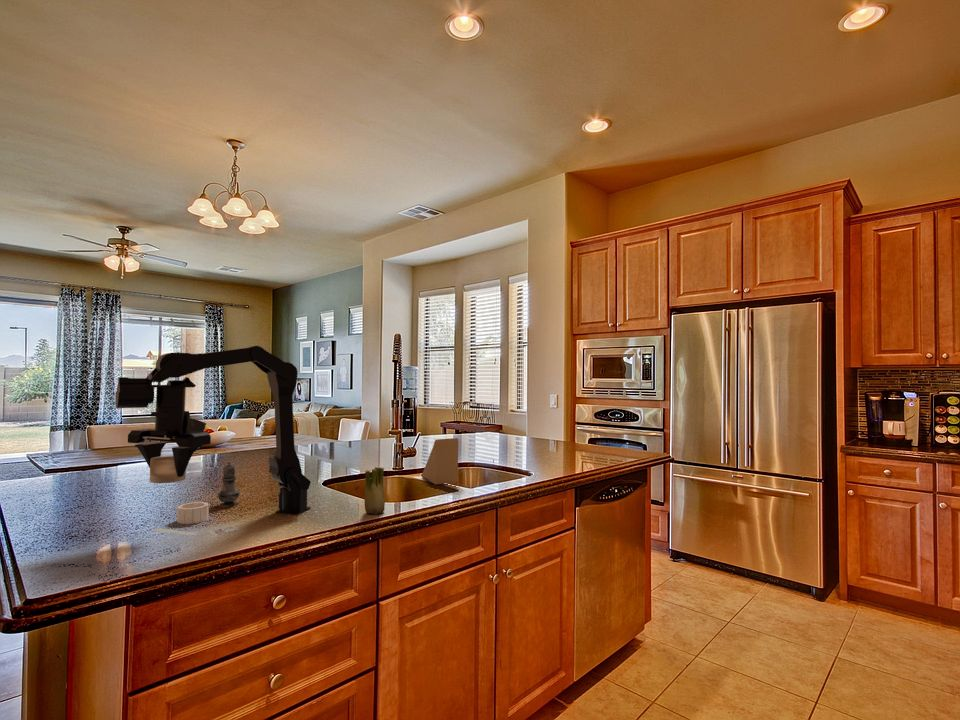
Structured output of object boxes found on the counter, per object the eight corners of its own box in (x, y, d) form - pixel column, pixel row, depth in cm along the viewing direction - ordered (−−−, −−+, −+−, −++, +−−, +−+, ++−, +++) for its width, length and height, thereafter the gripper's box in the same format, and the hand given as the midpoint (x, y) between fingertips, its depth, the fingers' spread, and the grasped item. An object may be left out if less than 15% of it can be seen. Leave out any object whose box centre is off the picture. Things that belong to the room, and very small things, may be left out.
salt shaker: (230, 508, 136) (231, 464, 136) (211, 507, 137) (212, 463, 138) (244, 503, 142) (245, 460, 142) (226, 501, 143) (227, 459, 143)
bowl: (214, 519, 127) (214, 503, 127) (192, 526, 120) (192, 510, 120) (193, 516, 129) (193, 501, 129) (170, 524, 122) (171, 507, 122)
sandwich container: (443, 473, 184) (443, 432, 185) (458, 482, 171) (459, 438, 171) (420, 475, 181) (420, 434, 181) (434, 484, 167) (435, 439, 167)
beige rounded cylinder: (192, 478, 117) (193, 456, 118) (165, 484, 111) (166, 461, 111) (169, 475, 119) (170, 454, 120) (141, 481, 113) (142, 459, 113)
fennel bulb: (365, 517, 129) (365, 470, 130) (361, 512, 134) (362, 466, 134) (387, 514, 132) (387, 468, 132) (383, 509, 136) (383, 465, 136)
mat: (199, 535, 114) (199, 533, 114) (151, 554, 103) (151, 551, 103) (157, 530, 117) (157, 528, 117) (107, 548, 106) (107, 545, 106)
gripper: (230, 406, 121) (228, 472, 120) (170, 404, 126) (167, 466, 126) (191, 409, 110) (188, 481, 109) (127, 406, 115) (124, 474, 115)
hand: (168, 475), depth 115 cm, fingers closed on beige rounded cylinder, 7 cm apart
